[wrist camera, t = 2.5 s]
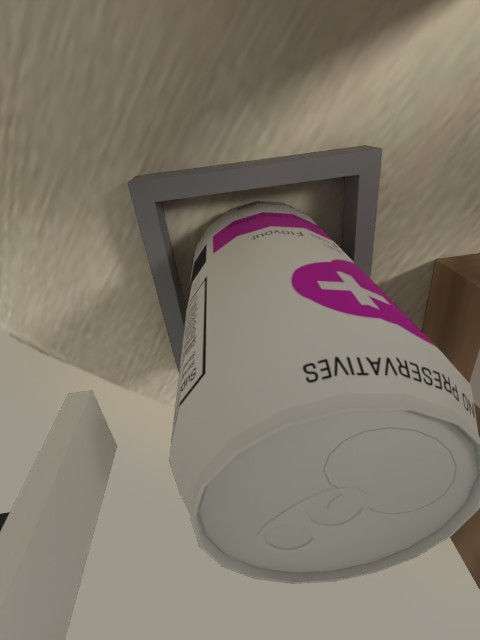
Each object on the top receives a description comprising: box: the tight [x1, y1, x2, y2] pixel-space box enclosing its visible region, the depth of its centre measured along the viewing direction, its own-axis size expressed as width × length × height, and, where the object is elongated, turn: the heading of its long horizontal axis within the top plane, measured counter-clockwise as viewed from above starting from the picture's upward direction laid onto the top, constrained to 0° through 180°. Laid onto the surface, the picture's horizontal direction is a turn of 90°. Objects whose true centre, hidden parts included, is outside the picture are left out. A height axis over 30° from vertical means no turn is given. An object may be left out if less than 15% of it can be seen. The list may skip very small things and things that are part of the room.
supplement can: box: [169, 201, 480, 584], centre depth 14 cm, size 8×8×15 cm
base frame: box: [128, 145, 382, 372], centre depth 20 cm, size 12×12×2 cm
